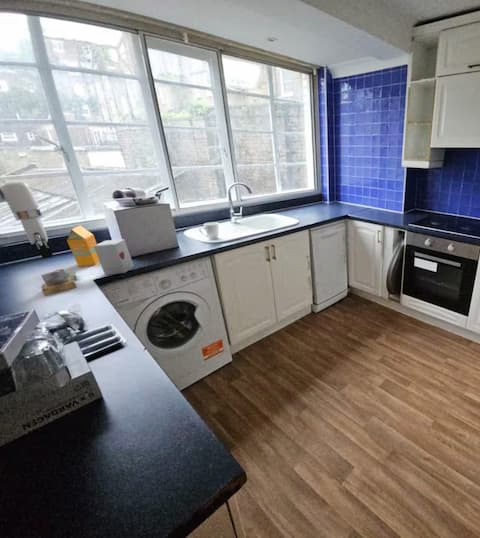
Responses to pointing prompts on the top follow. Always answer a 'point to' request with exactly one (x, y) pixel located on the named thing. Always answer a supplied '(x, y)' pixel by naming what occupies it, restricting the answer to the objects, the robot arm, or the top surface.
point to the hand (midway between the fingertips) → (48, 254)
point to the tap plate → (58, 287)
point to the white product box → (114, 256)
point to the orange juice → (83, 246)
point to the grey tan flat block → (54, 277)
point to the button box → (71, 275)
